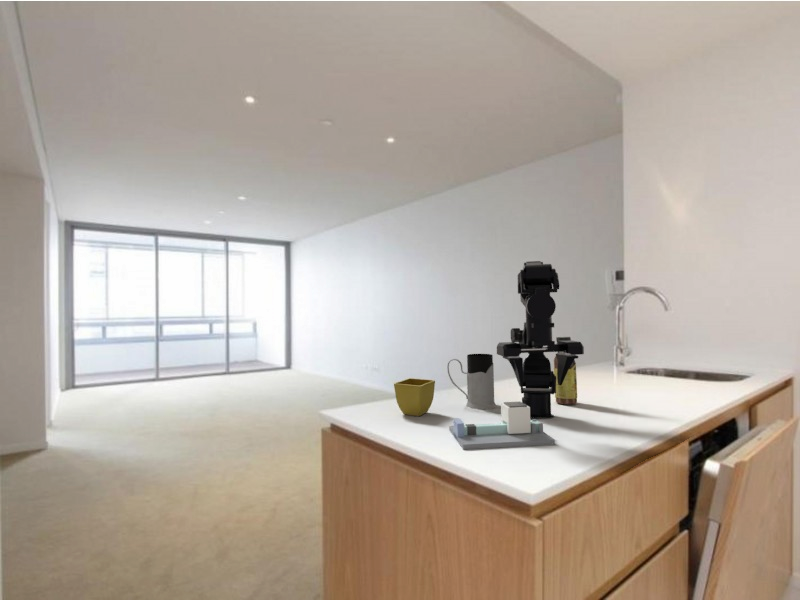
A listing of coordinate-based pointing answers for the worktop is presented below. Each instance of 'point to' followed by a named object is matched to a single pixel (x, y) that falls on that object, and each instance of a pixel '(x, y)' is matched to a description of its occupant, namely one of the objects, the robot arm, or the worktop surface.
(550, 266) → the robot arm
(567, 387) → the sauce bottle
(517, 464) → the worktop surface
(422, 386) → the flower pot
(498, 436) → the comb board
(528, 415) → the sleeve
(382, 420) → the worktop surface
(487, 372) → the glass holder
